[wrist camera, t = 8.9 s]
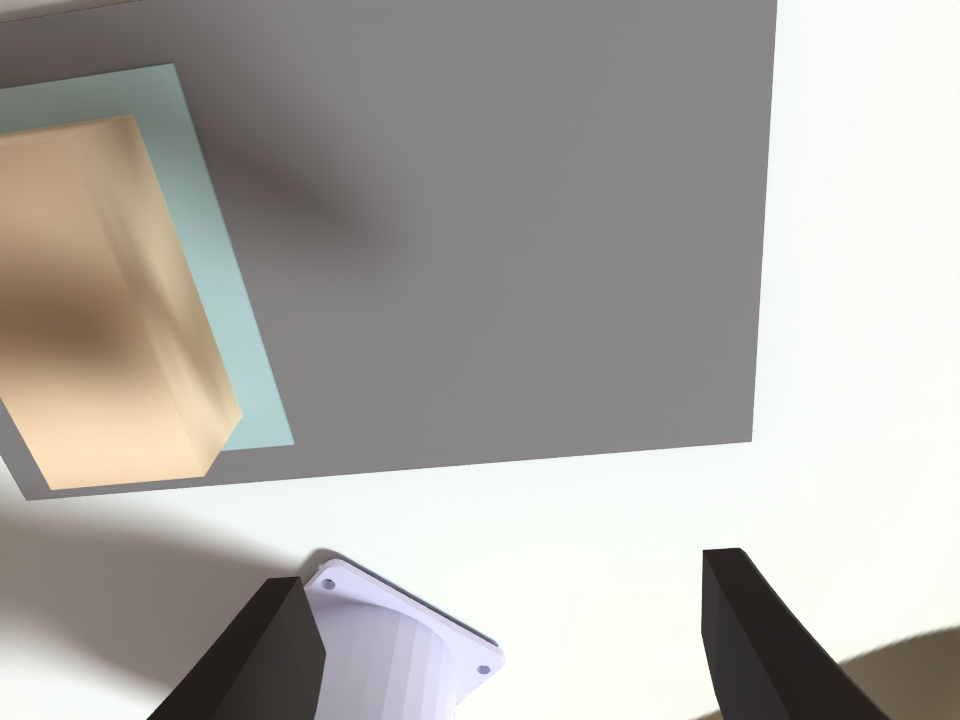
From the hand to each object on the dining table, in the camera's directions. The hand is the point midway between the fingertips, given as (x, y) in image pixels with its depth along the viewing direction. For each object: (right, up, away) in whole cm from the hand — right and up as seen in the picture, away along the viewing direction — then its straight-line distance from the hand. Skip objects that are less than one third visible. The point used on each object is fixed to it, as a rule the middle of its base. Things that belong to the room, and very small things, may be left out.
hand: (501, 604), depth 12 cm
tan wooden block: (-11, +6, +7) cm, 14 cm away
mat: (-5, +7, +7) cm, 11 cm away
